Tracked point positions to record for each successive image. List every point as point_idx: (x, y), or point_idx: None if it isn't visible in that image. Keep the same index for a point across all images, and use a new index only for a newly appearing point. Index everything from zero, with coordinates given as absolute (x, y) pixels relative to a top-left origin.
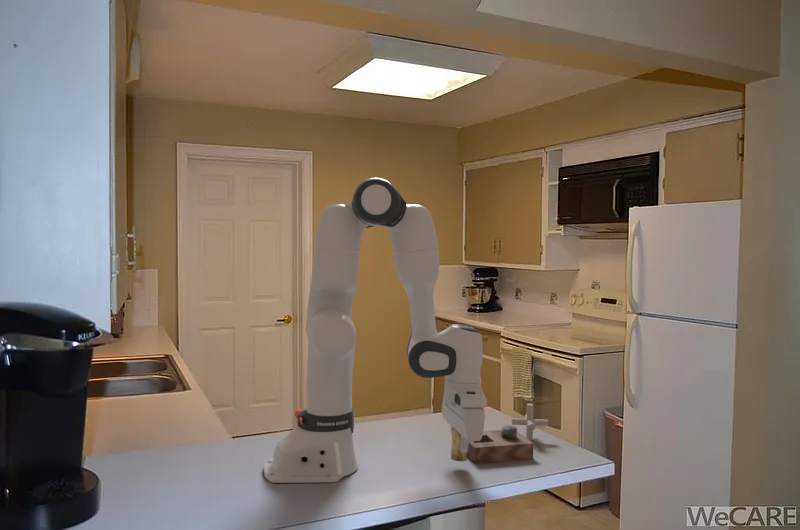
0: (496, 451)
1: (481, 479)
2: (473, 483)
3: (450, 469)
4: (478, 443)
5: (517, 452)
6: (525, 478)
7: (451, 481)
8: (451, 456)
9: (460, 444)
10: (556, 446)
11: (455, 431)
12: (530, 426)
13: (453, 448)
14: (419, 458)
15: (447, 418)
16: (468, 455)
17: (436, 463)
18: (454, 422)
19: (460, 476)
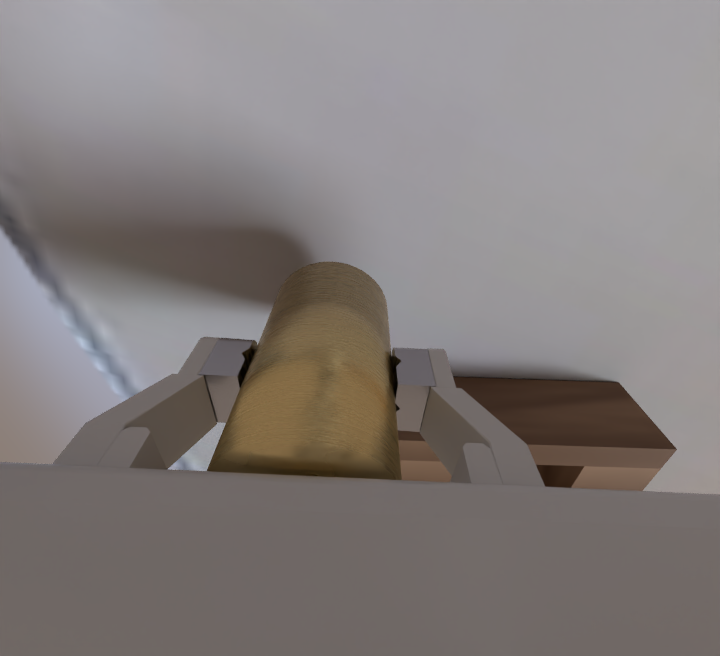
0: None
1: (174, 330)
2: (115, 275)
3: (334, 230)
4: (445, 472)
5: None
6: (190, 466)
7: (133, 159)
8: (328, 269)
9: (189, 375)
10: None
11: (243, 452)
12: None
13: (295, 310)
14: (619, 72)
15: (626, 554)
16: (470, 384)
17: (461, 176)
18: (228, 589)
19: (217, 246)
